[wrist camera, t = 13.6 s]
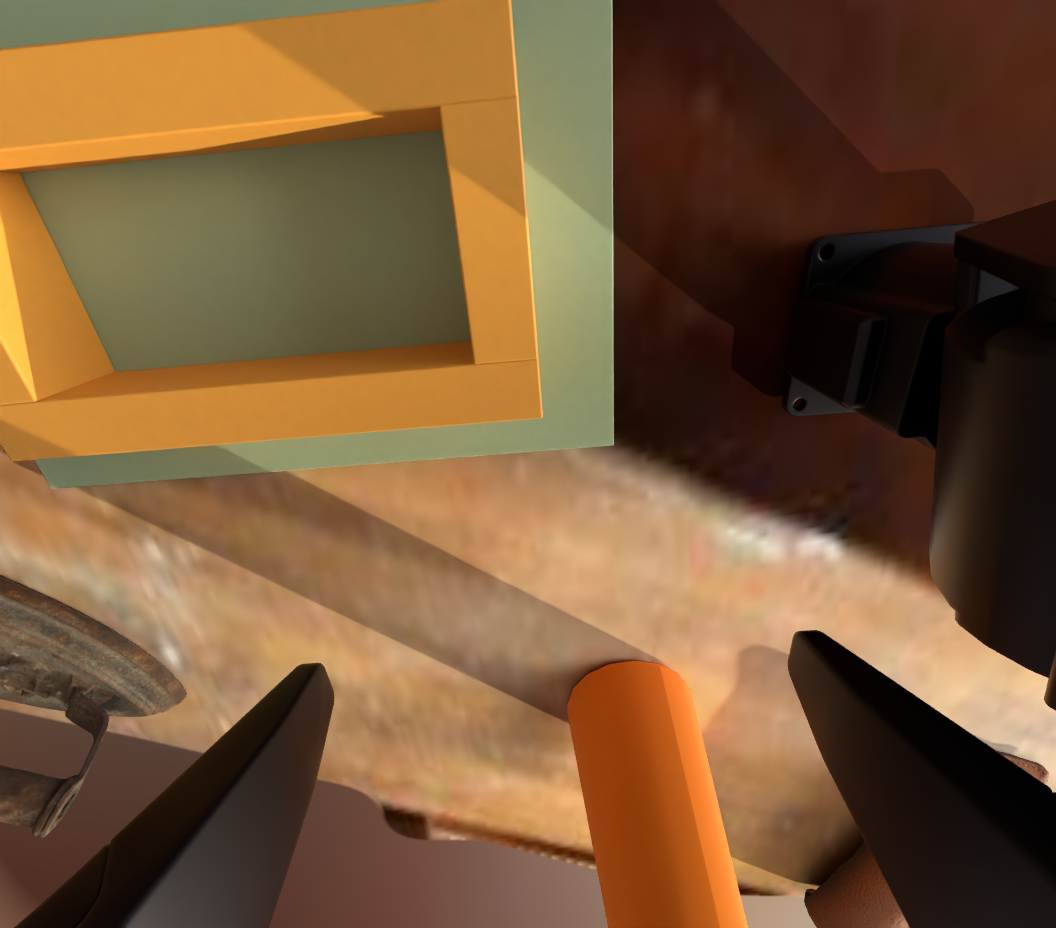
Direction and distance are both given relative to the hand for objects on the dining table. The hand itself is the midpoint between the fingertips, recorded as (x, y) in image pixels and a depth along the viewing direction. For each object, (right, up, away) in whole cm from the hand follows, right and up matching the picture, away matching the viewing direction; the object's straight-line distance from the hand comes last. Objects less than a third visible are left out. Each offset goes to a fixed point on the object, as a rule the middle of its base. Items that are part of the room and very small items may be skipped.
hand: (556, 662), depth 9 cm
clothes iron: (-24, -6, +17) cm, 30 cm away
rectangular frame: (-9, +11, +8) cm, 16 cm away
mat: (-10, +11, +8) cm, 17 cm away
